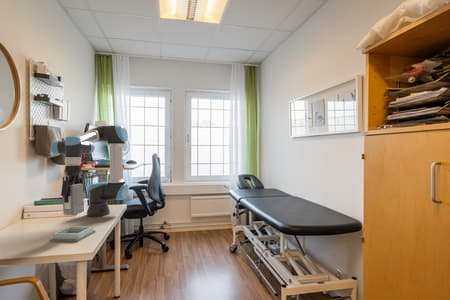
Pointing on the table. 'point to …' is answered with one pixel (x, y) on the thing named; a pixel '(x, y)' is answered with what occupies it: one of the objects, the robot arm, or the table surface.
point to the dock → (72, 234)
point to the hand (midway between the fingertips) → (73, 206)
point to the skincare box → (75, 200)
